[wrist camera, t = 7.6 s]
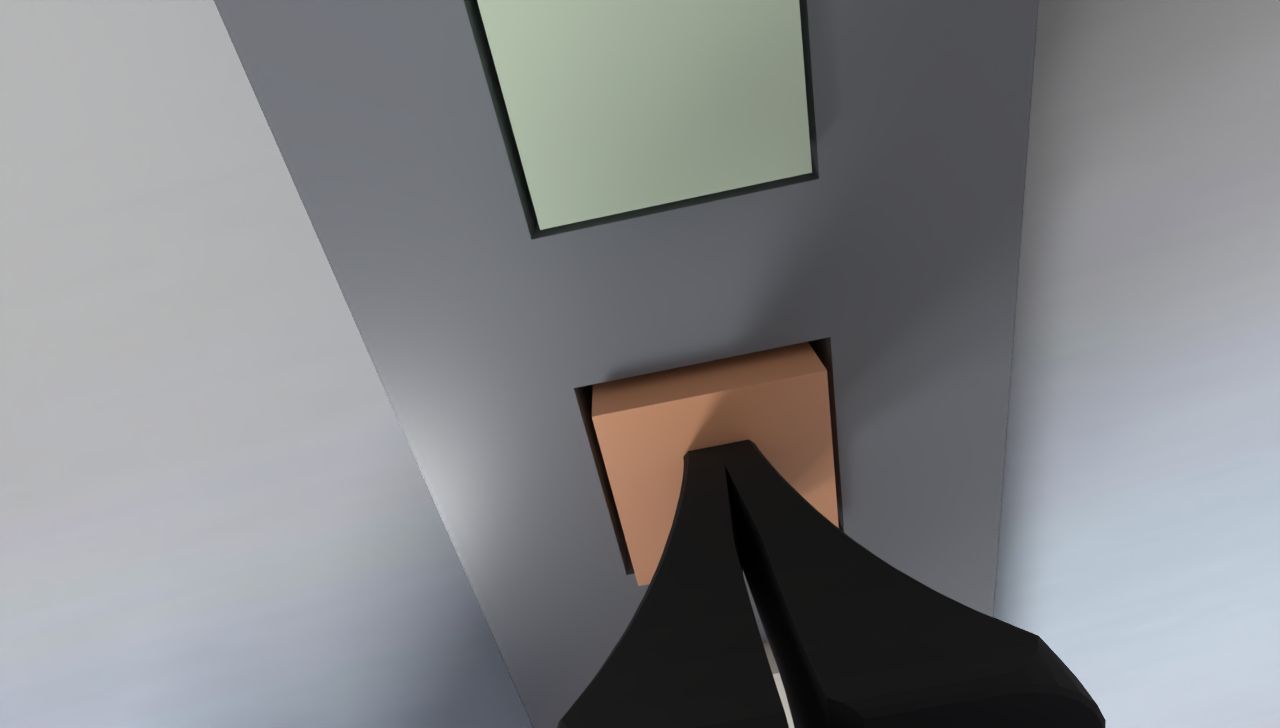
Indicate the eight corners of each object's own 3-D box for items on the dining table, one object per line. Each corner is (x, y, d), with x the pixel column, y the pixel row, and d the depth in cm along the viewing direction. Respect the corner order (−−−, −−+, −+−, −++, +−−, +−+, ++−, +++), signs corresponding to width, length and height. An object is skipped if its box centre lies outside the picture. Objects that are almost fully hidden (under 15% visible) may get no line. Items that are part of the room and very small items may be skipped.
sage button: (766, 142, 13) (812, 172, 10) (553, 188, 13) (539, 230, 10) (739, -122, 11) (786, -177, 8) (489, -63, 11) (449, -97, 8)
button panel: (934, 707, 22) (979, 798, 20) (593, 765, 23) (592, 862, 20) (954, -485, 10) (1088, -686, 7) (186, -288, 10) (36, -403, 7)
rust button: (799, 461, 17) (840, 548, 14) (632, 492, 17) (638, 585, 14) (783, 305, 15) (827, 370, 12) (594, 343, 15) (591, 416, 12)
